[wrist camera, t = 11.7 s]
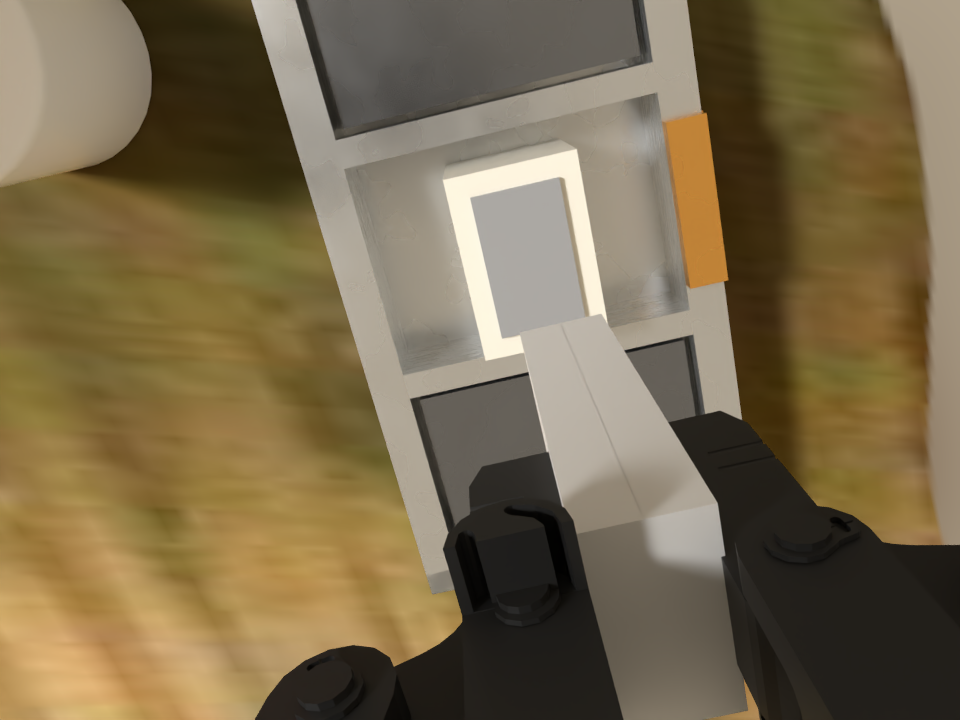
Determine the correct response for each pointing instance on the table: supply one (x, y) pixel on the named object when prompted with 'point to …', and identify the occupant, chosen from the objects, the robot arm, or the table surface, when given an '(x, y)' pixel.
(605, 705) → the robot arm
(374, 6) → the tray
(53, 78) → the pill bottle
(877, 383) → the table surface
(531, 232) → the white block
